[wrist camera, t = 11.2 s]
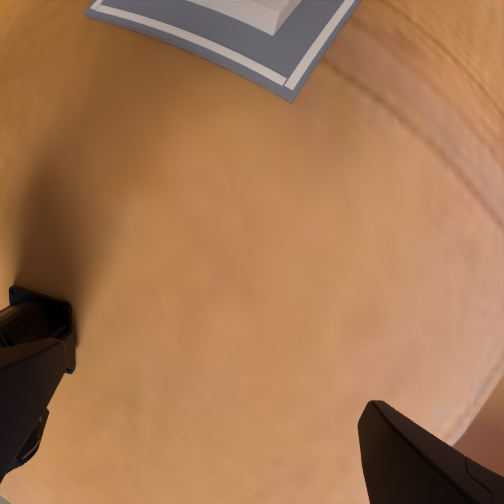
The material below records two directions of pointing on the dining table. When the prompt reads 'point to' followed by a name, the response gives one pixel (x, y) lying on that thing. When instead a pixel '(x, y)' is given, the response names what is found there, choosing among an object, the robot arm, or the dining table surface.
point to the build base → (239, 33)
